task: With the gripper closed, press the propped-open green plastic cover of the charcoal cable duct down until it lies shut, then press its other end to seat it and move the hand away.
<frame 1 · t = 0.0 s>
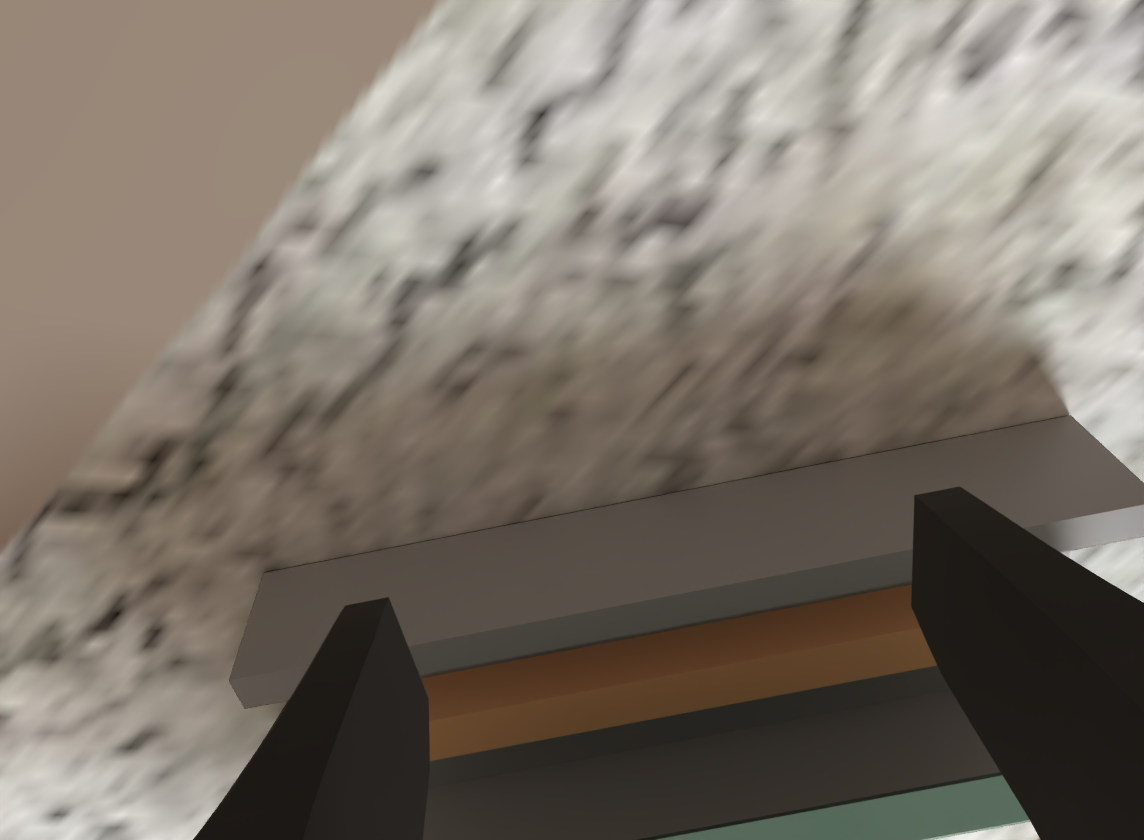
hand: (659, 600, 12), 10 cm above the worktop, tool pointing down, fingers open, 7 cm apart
cable duct: (683, 627, 27), on the worktop
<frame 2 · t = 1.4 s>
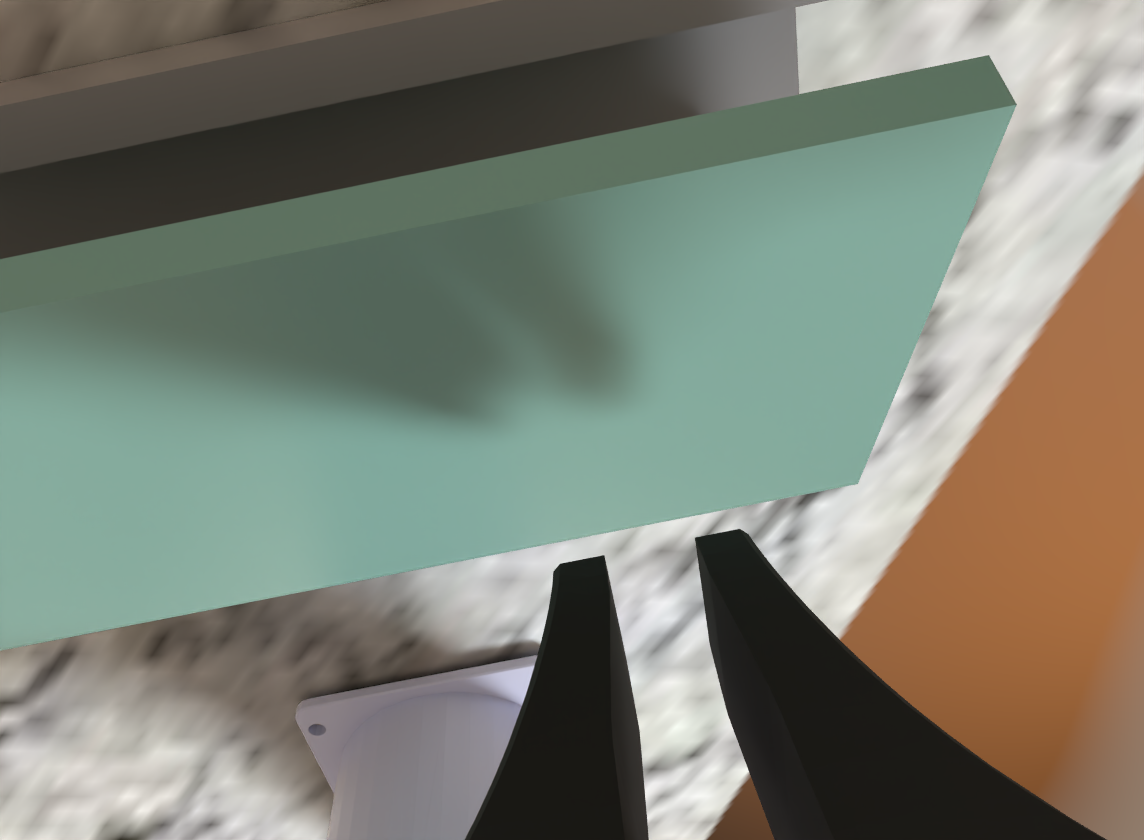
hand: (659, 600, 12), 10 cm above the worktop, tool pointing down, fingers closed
cable duct: (311, 268, 20), on the worktop
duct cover: (257, 462, 15), point 7 cm above the worktop, hinge at 30.0°
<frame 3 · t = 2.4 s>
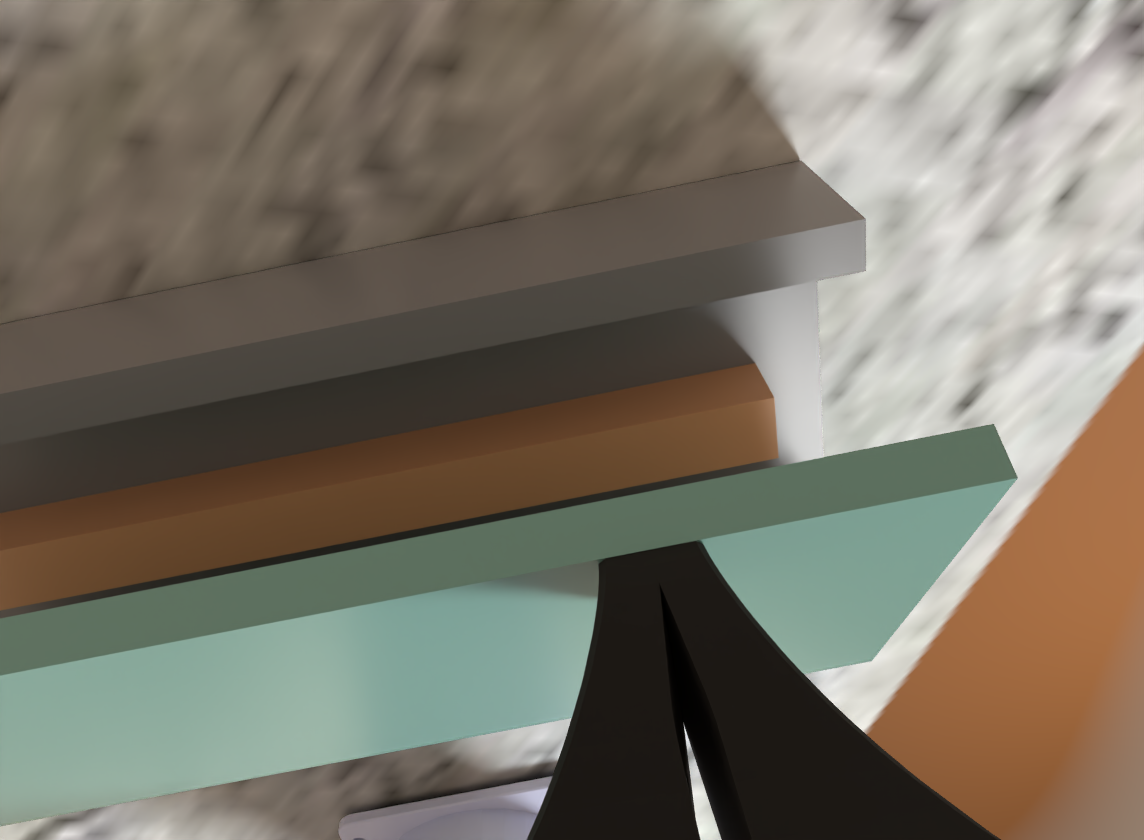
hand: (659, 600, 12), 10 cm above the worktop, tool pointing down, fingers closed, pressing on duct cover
cable duct: (367, 452, 22), on the worktop
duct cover: (336, 685, 16), point 7 cm above the worktop, hinge at 30.0°, touching gripper
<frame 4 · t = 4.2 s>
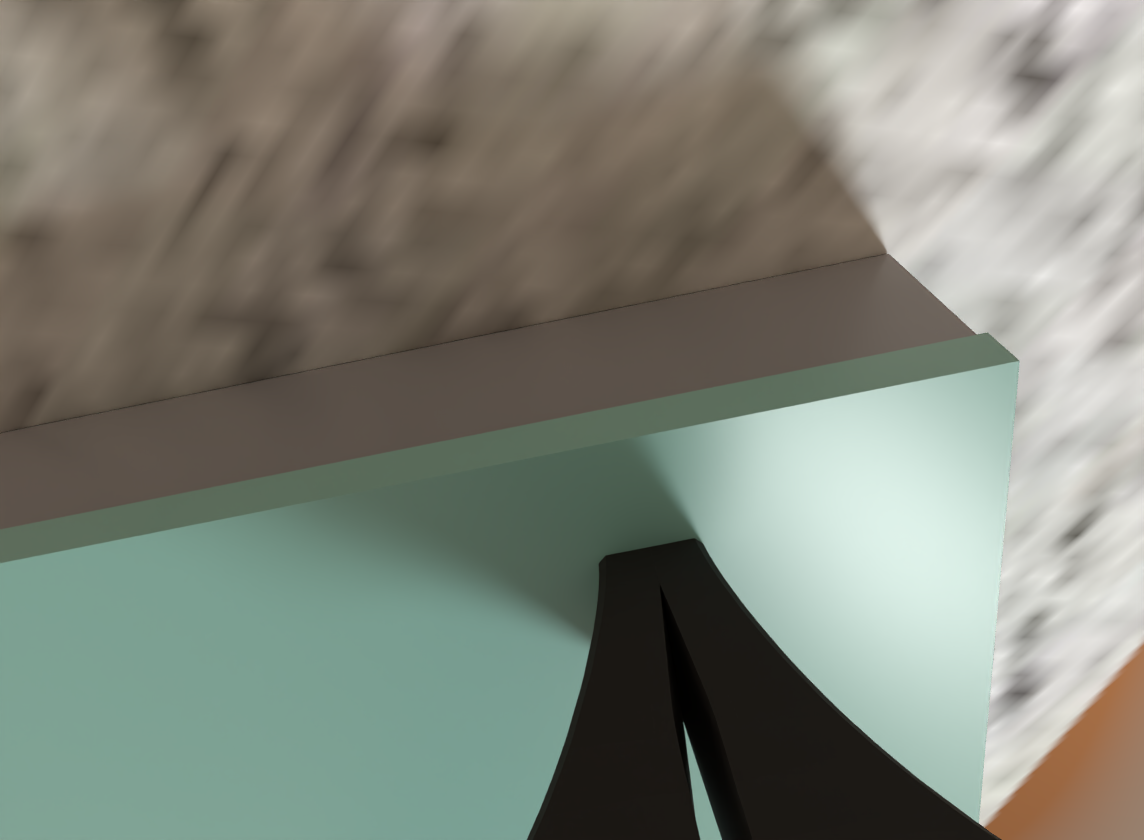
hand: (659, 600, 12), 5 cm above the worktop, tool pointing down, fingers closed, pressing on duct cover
cable duct: (337, 600, 18), on the worktop
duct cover: (294, 776, 14), point 4 cm above the worktop, hinge at -0.4°, touching cable duct, gripper
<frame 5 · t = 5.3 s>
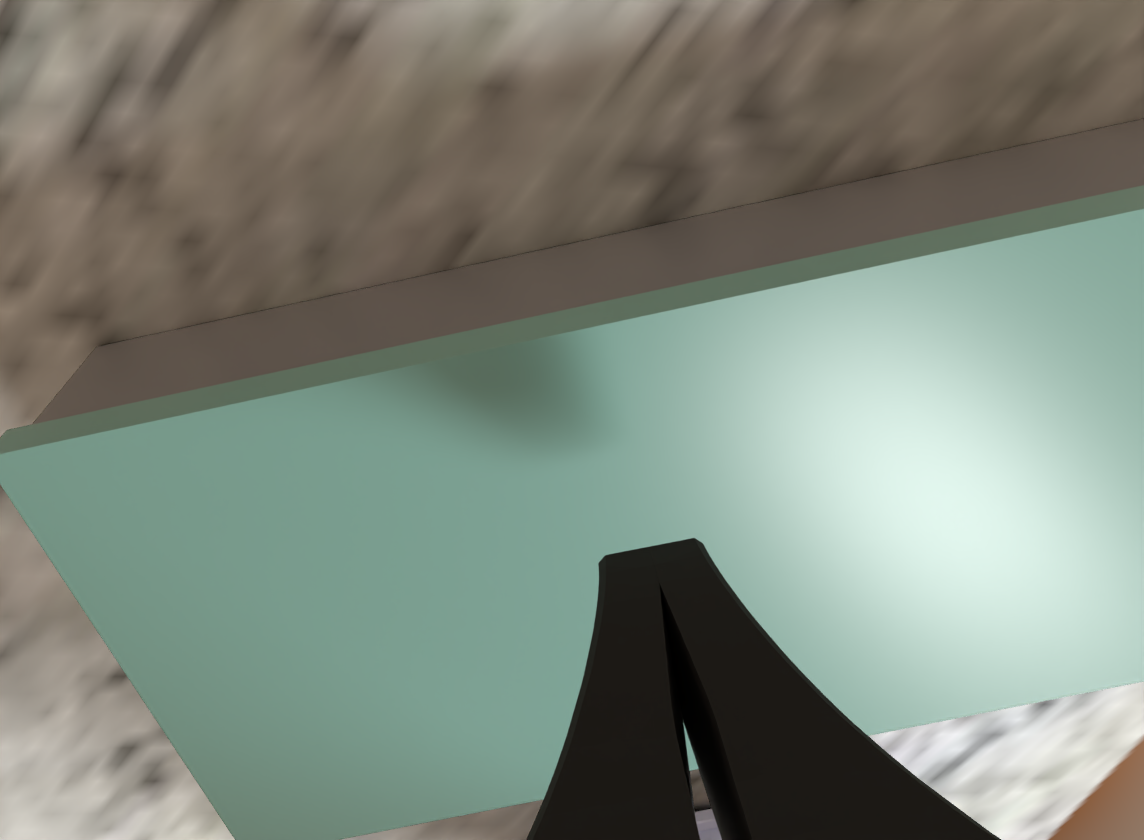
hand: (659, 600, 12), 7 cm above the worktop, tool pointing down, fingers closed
cable duct: (679, 439, 20), on the worktop
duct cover: (720, 556, 16), point 4 cm above the worktop, hinge at -0.4°, touching cable duct
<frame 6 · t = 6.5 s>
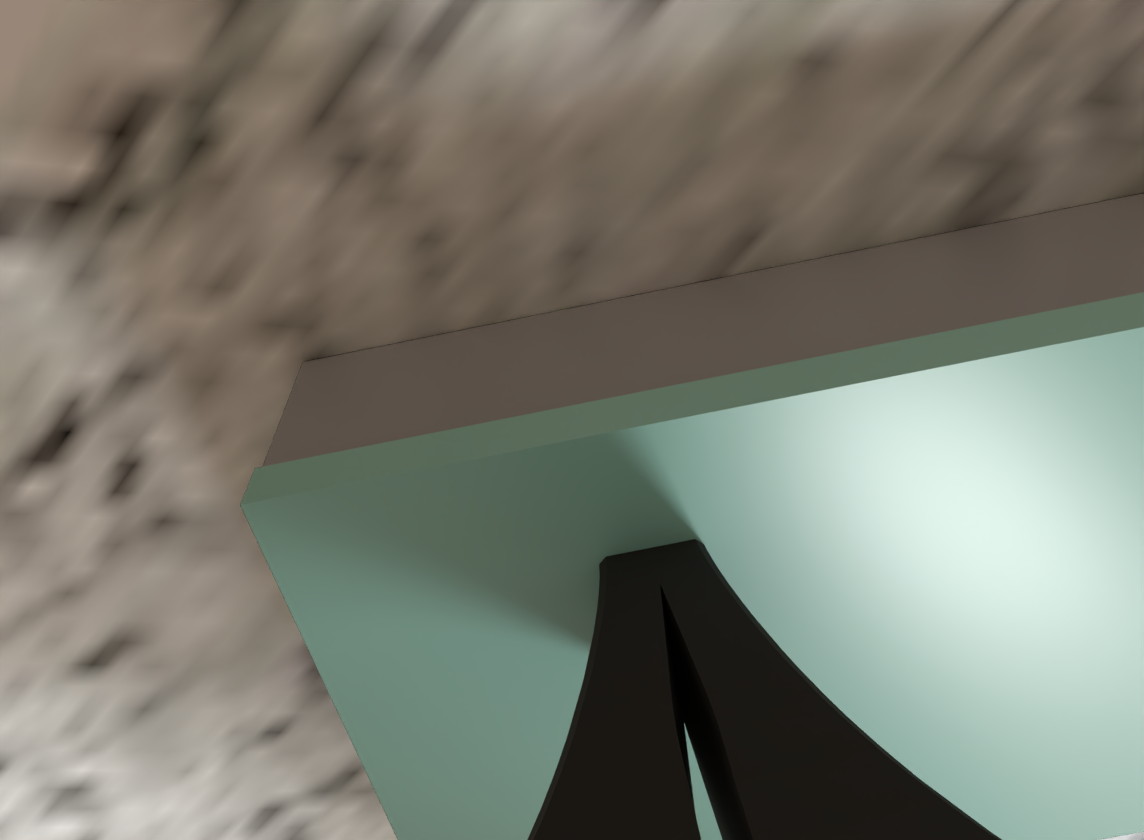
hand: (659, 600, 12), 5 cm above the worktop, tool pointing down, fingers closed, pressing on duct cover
cable duct: (943, 475, 17), on the worktop
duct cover: (1064, 623, 14), point 4 cm above the worktop, hinge at -0.4°, touching cable duct, gripper
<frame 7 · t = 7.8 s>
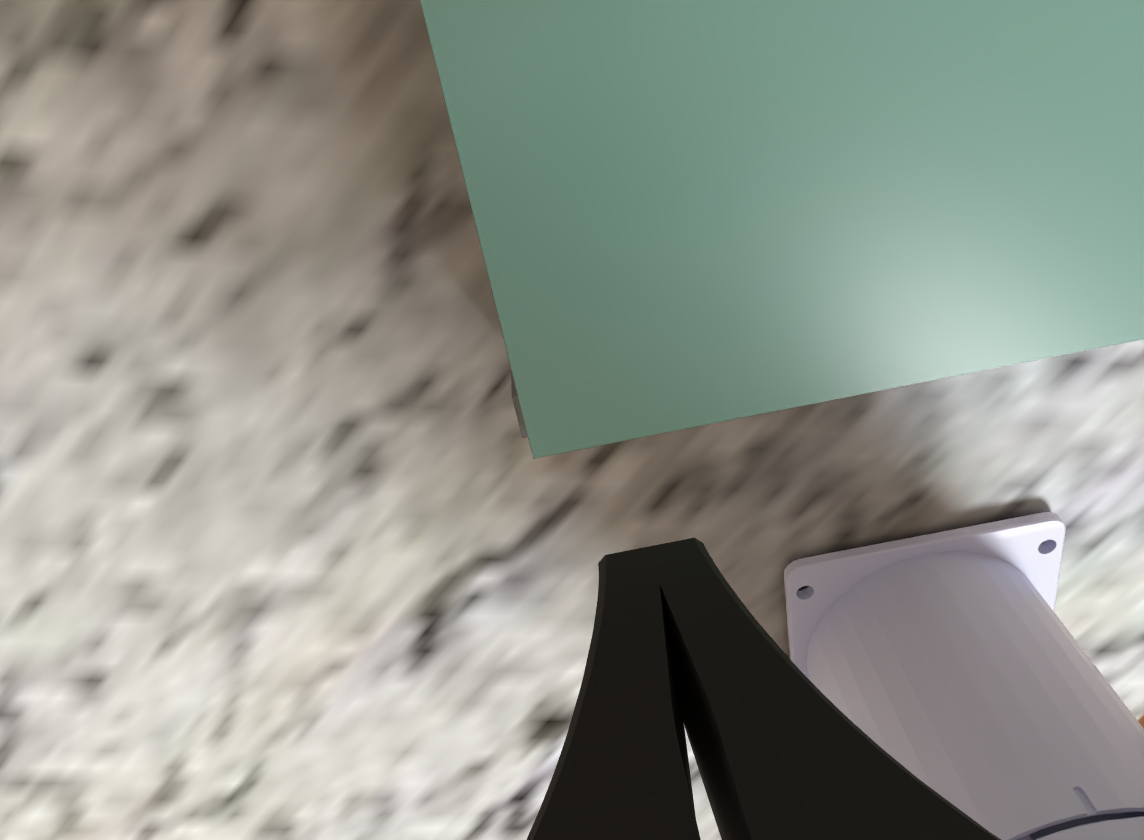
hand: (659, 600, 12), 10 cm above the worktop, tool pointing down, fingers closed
cable duct: (979, 45, 19), on the worktop
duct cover: (1095, 72, 15), point 4 cm above the worktop, hinge at -0.4°, touching cable duct
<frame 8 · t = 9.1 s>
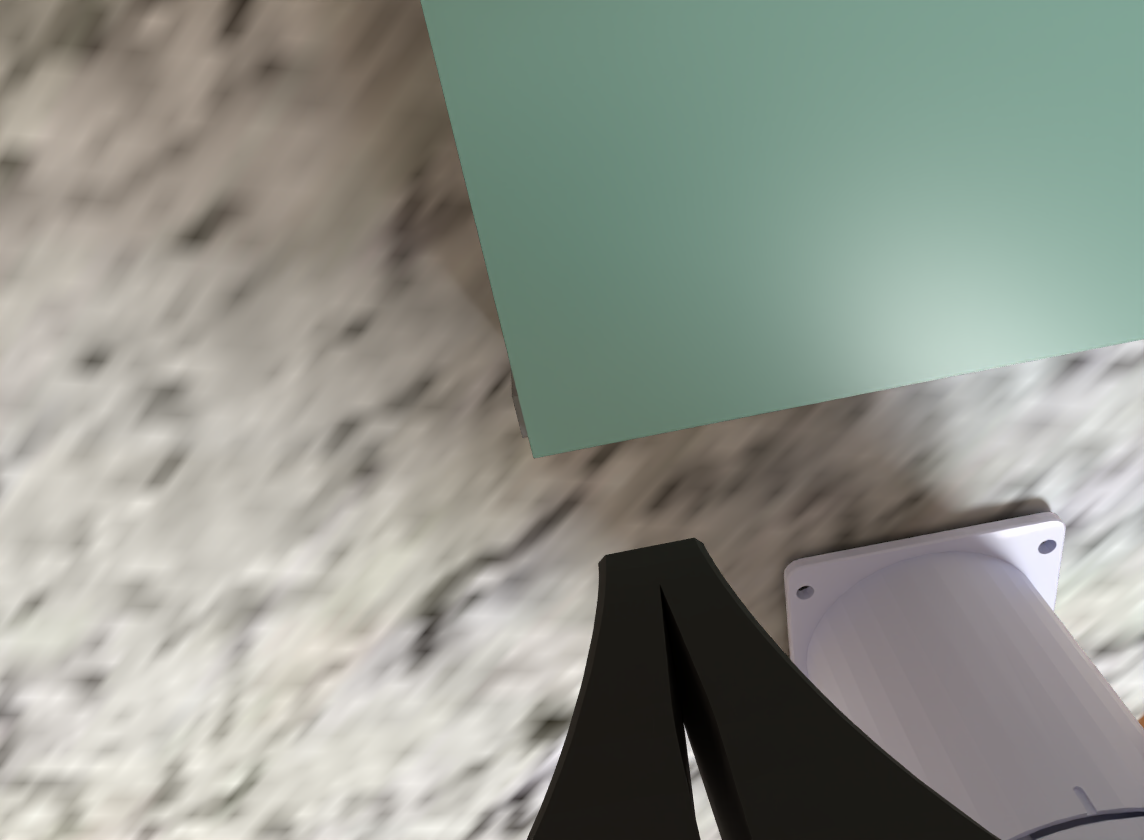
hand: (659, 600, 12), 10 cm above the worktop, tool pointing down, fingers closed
cable duct: (979, 45, 19), on the worktop
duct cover: (1095, 72, 15), point 4 cm above the worktop, hinge at -0.4°, touching cable duct
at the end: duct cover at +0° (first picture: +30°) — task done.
